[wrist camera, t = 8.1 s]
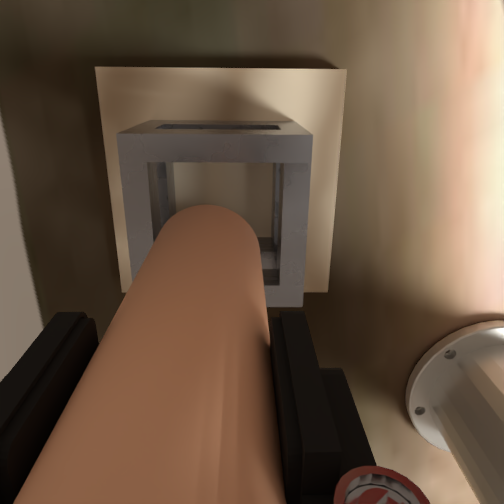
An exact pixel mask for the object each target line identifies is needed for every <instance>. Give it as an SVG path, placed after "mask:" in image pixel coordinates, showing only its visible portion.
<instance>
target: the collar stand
mask: <svg viewBox="0 0 504 504" xmlns="http://www.w3.org/2000/svg"><path fill="white" fill-rule="evenodd" d="M95 71H96V80H97V88H98V96H99V105H100V113H101V121H102V130H103V138H104V146H105V155H106V163H107V171H108V180H109V188H110V196H111V205H112V213H113V221H114V230H115V238H116V246H117V255H118V263H119V271H120V280H121V288H122V292H128V290H129V288H130V286H131V284H132V282H133V280H134V279H135V277H136V275H137V273H138V271H139V269H140V268H141V266H142V264H143V262H144V260H145V258H146V256H147V255H148V253H149V251H150V249H151V247H152V245H153V243H154V242H155V240H156V238H157V236H158V234H159V232H160V230H161V229H162V227H163V226H164V224H165V223H166V222H167V221H168V220H169V219H170V218H171V217H172V216H173V215H175V214H176V213H178V212H179V211H181V210H183V209H185V208H188V207H192V206H196V205H216V206H221V207H224V208H227V209H229V210H231V211H233V212H235V213H237V214H238V215H240V216H241V217H242V218H243V219H245V220H246V222H247V223H248V224H249V225H250V226H251V228H252V229H253V231H254V233H255V234H256V236H257V239H258V242H259V247H260V255H261V264H262V273H263V282H264V291H265V300H266V307H303V293H304V292H328V284H329V272H330V261H331V249H332V237H333V226H334V214H335V202H336V191H337V179H338V167H339V156H340V144H341V132H342V120H343V109H344V97H345V85H346V74H347V69H272V68H174V67H95Z"/></svg>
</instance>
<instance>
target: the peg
mask: <svg viewBox="0 0 504 504" xmlns="http://www.w3.org/2000/svg"><path fill="white" fill-rule="evenodd" d="M13 504H287V503H286V498H285V488H284V479H283V469H282V460H281V450H280V441H279V431H278V422H277V413H276V403H275V394H274V384H273V375H272V365H271V356H270V336H269V327H268V318H267V309H266V300H265V291H264V282H263V273H262V264H261V255H260V247H259V242H258V239H257V236H256V234H255V233H254V231H253V229H252V228H251V226H250V225H249V224H248V223H247V222H246V220H245V219H243V218H242V217H241V216H240V215H238V214H237V213H235V212H233V211H231V210H229V209H227V208H224V207H221V206H216V205H196V206H192V207H188V208H185V209H183V210H181V211H179V212H178V213H176V214H175V215H173V216H172V217H171V218H170V219H169V220H168V221H167V222H166V223H165V224H164V226H163V227H162V229H161V230H160V232H159V234H158V236H157V238H156V240H155V242H154V243H153V245H152V247H151V249H150V251H149V253H148V255H147V256H146V258H145V260H144V262H143V264H142V266H141V268H140V269H139V271H138V273H137V275H136V277H135V279H134V280H133V282H132V284H131V286H130V288H129V290H128V292H127V293H126V295H125V297H124V299H123V301H122V303H121V305H120V306H119V308H118V310H117V312H116V314H115V316H114V318H113V319H112V321H111V323H110V325H109V327H108V329H107V331H106V332H105V334H104V336H103V338H102V340H101V342H100V344H99V345H98V347H97V349H96V351H95V353H94V355H93V357H92V358H91V360H90V362H89V364H88V366H87V368H86V369H85V371H84V373H83V375H82V377H81V379H80V381H79V382H78V384H77V386H76V388H75V390H74V392H73V394H72V395H71V397H70V399H69V401H68V403H67V405H66V407H65V408H64V410H63V412H62V414H61V416H60V418H59V420H58V421H57V423H56V425H55V427H54V429H53V431H52V433H51V434H50V436H49V438H48V440H47V442H46V444H45V446H44V447H43V449H42V451H41V453H40V455H39V457H38V458H37V460H36V462H35V464H34V466H33V468H32V470H31V471H30V473H29V475H28V477H27V479H26V481H25V483H24V484H23V486H22V488H21V490H20V492H19V494H18V496H17V497H16V499H15V501H14V503H13Z"/></svg>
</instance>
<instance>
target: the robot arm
mask: <svg viewBox="0 0 504 504" xmlns="http://www.w3.org/2000/svg"><path fill="white" fill-rule="evenodd" d="M98 345H99V343H98V337H97V330H96V324H95V321H94V319H93V318H87V315H86V313H84V312H58V313H57V314H55V315H54V317H53V318H52V319H51V321H50V322H49V323H48V324H47V326H46V327H45V328H44V329H43V331H42V332H41V333H40V334H39V336H38V337H37V338H36V339H35V341H34V342H33V343H32V344H31V346H30V347H29V348H28V350H27V351H26V352H25V353H24V355H23V356H22V357H21V358H20V359H19V361H18V362H17V363H16V364H15V366H14V367H13V368H12V370H11V371H10V372H9V373H8V374H7V375H6V376H5V377H4V379H3V380H2V381H1V382H0V504H13V503H14V501H15V499H16V497H17V496H18V494H19V492H20V490H21V488H22V486H23V484H24V483H25V481H26V479H27V477H28V475H29V473H30V471H31V470H32V468H33V466H34V464H35V462H36V460H37V458H38V457H39V455H40V453H41V451H42V449H43V447H44V446H45V444H46V442H47V440H48V438H49V436H50V434H51V433H52V431H53V429H54V427H55V425H56V423H57V421H58V420H59V418H60V416H61V414H62V412H63V410H64V408H65V407H66V405H67V403H68V401H69V399H70V397H71V395H72V394H73V392H74V390H75V388H76V386H77V384H78V382H79V381H80V379H81V377H82V375H83V373H84V371H85V369H86V368H87V366H88V364H89V362H90V360H91V358H92V357H93V355H94V353H95V351H96V349H97V347H98ZM270 356H271V365H272V375H273V384H274V394H275V403H276V413H277V422H278V431H279V441H280V450H281V460H282V469H283V479H284V488H285V498H286V503H287V504H430V502H429V500H428V499H427V497H426V496H425V495H424V493H423V492H422V491H421V489H420V488H419V487H418V486H417V485H415V484H414V483H413V482H412V481H411V480H409V479H408V478H407V477H405V476H404V475H402V474H400V473H398V472H396V471H394V470H392V469H388V468H384V467H380V466H377V465H376V462H375V460H374V457H373V454H372V451H371V448H370V445H369V442H368V440H367V437H366V434H365V431H364V428H363V425H362V423H361V420H360V417H359V414H358V411H357V408H356V406H355V403H354V400H353V397H352V394H351V391H350V388H349V386H348V383H347V380H346V377H345V374H344V372H343V370H342V369H341V368H319V365H318V361H317V357H316V354H315V350H314V346H313V343H312V339H311V335H310V331H309V328H308V324H307V320H306V317H305V313H304V311H280V314H279V317H271V323H270ZM405 402H406V407H407V411H408V414H409V416H410V419H411V421H412V423H413V425H414V427H415V428H416V430H417V431H418V433H419V434H420V435H421V436H422V437H423V438H424V439H425V440H426V441H427V442H428V443H430V444H432V445H434V446H435V447H437V448H439V449H442V450H444V451H447V452H450V453H452V455H453V457H454V458H455V460H456V462H457V464H458V466H459V467H460V469H461V471H462V473H463V474H464V476H465V478H466V480H467V482H468V483H469V485H470V487H471V489H472V490H473V492H474V494H475V496H476V498H477V499H478V501H479V503H480V504H504V320H495V321H488V322H481V323H477V324H474V325H471V326H467V327H464V328H462V329H460V330H458V331H456V332H454V333H451V334H449V335H448V336H446V337H445V338H443V339H442V340H440V341H439V342H437V343H436V344H435V345H434V346H433V347H432V348H430V349H429V350H428V351H427V352H426V353H425V354H424V355H423V357H422V358H421V359H420V360H419V362H418V363H417V364H416V366H415V368H414V369H413V371H412V373H411V375H410V377H409V380H408V384H407V388H406V401H405Z"/></svg>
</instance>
